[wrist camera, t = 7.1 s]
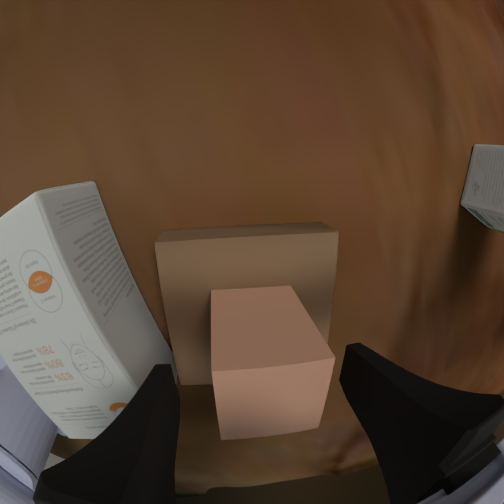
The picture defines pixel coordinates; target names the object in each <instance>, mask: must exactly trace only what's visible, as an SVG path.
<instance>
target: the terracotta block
mask: <svg viewBox="0 0 504 504" xmlns="http://www.w3.org/2000/svg"><path fill="white" fill-rule="evenodd" d="M334 362H335V356H334V355H333V353H332V352H331V350H330V348H329V347H328V345H327V343H326V342H325V340H324V339H323V337H322V335H321V334H320V332H319V330H318V329H317V327H316V326H315V324H314V322H313V321H312V319H311V317H310V316H309V314H308V313H307V311H306V309H305V308H304V306H303V305H302V303H301V301H300V300H299V298H298V297H297V295H296V293H295V292H294V290H293V289H292V287H291V285H289V286H275V287H259V288H241V289H223V290H211V371H212V379H213V387H214V395H215V402H216V409H217V416H218V423H219V429H220V436H221V440H232V439H245V438H256V437H265V436H273V435H280V434H286V433H293V432H298V431H304V430H309V429H314V428H318V427H319V423H320V420H321V416H322V412H323V408H324V404H325V401H326V397H327V392H328V388H329V384H330V380H331V375H332V371H333V366H334Z"/></svg>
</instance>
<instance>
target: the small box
mask: <svg viewBox="0 0 504 504" xmlns="http://www.w3.org/2000/svg"><path fill="white" fill-rule="evenodd" d="M0 355H1V356H2V358H3V359H4V361H5V362H6V364H7V365H8V367H9V368H10V370H11V371H12V373H13V374H14V375H15V377H16V378H17V379H18V381H19V382H20V383H21V385H22V386H23V387H24V389H25V390H26V391H27V392H28V394H29V395H30V396H31V397H32V399H33V400H34V401H35V402H36V403H37V405H38V406H39V407H40V408H41V409H42V410H43V411H44V412H45V414H46V415H47V416H48V417H49V418H50V419H51V420H52V421H53V422H54V423H55V424H56V425H57V426H58V427H59V429H60V430H61V431H62V432H63V433H64V434H66V435H67V436H68V437H69V438H71V439H95V438H96V437H97V436H98V435H99V434H101V433H102V432H103V431H104V430H105V429H106V428H107V427H108V426H109V425H110V424H111V423H112V422H113V421H114V420H115V418H116V417H117V416H118V415H119V414H120V413H121V411H122V410H123V409H124V408H125V407H126V405H127V404H128V403H129V402H130V400H131V399H132V398H133V396H134V395H135V393H136V392H137V391H138V389H139V388H140V387H141V385H142V384H143V382H144V381H145V379H146V378H147V376H148V375H149V373H150V371H151V370H152V368H153V367H154V366H155V364H171V367H172V371H173V375H174V379H175V383H176V382H177V373H178V372H177V368H176V364H175V359H174V355H173V353H172V351H171V349H170V347H169V346H168V344H167V342H166V341H165V339H164V337H163V335H162V333H161V331H160V330H159V328H158V326H157V324H156V322H155V320H154V318H153V316H152V315H151V313H150V311H149V309H148V307H147V305H146V303H145V301H144V299H143V297H142V295H141V293H140V291H139V289H138V286H137V284H136V282H135V280H134V278H133V276H132V274H131V271H130V269H129V267H128V265H127V262H126V260H125V258H124V255H123V253H122V251H121V249H120V246H119V244H118V241H117V239H116V237H115V234H114V232H113V229H112V227H111V224H110V222H109V219H108V216H107V214H106V211H105V208H104V206H103V203H102V200H101V197H100V194H99V191H98V188H97V185H96V184H95V183H94V181H89V182H83V183H77V184H71V185H65V186H58V187H53V188H48V189H44V190H40V191H37V192H35V193H33V194H32V195H30V196H29V197H28V198H26V199H25V200H23V201H22V202H21V203H19V204H18V205H16V206H15V207H14V208H12V209H11V210H10V211H8V212H7V213H6V214H4V215H3V216H2V217H0Z"/></svg>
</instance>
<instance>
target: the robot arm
mask: <svg viewBox="0 0 504 504" xmlns="http://www.w3.org/2000/svg"><path fill="white" fill-rule="evenodd" d="M0 370H1V371H0V504H176V497H175V477H174V469H175V456H176V447H177V438H178V430H179V421H180V398H179V394H178V391H177V387H176V383H175V379H174V375H173V371H172V367H171V364H155V366H154V367H153V368H152V370H151V371H150V373H149V375H148V376H147V378H146V379H145V381H144V382H143V384H142V385H141V387H140V388H139V389H138V391H137V392H136V393H135V395H134V396H133V398H132V399H131V400H130V402H129V403H128V404H127V405H126V407H125V408H124V409H123V410H122V411H121V413H120V414H119V415H118V416H117V417H116V418H115V420H114V421H113V422H112V423H111V424H110V425H109V426H108V427H107V428H106V429H105V430H104V431H103V432H102V433H101V434H99V435H98V436H97V437H96V438H95V439H94V440H93V441H91V442H90V443H89V444H88V445H86V446H85V447H84V448H82V449H81V450H79V451H78V452H76V453H75V454H73V455H72V456H70V457H69V458H67V459H65V460H64V461H62V462H60V463H58V464H56V465H54V466H52V467H50V468H48V469H46V470H44V467H45V464H46V462H47V459H48V456H49V453H50V451H51V448H52V445H53V443H54V440H55V438H56V435H57V433H59V434H61V435H63V436H66V434H64V433H63V432H62V431H61V430H60V429H59V427H58V426H57V425H56V424H55V423H54V422H53V421H52V420H51V419H50V418H49V417H48V416H47V415H46V414H45V412H44V411H43V410H42V409H41V408H40V407H39V406H38V405H37V403H36V402H35V401H34V400H33V399H32V397H31V396H30V395H29V394H28V392H27V391H26V390H25V389H24V387H23V386H22V385H21V383H20V382H19V381H18V379H17V378H16V377H15V375H14V374H13V373H12V371H11V370H10V368H9V367H8V365H7V364H6V362H5V361H4V359H3V358H2V356H1V355H0ZM339 381H340V383H341V386H342V389H343V391H344V394H345V396H346V398H347V400H348V402H349V404H350V406H351V407H352V409H353V411H354V413H355V414H356V416H357V418H358V420H359V421H360V423H361V425H362V427H363V428H364V430H365V432H366V434H367V435H368V437H369V439H370V441H371V444H372V446H373V449H374V451H375V454H376V456H377V459H378V462H379V464H380V467H381V470H382V473H383V476H384V480H385V483H386V486H387V490H388V495H389V499H390V503H391V504H502V503H503V502H504V438H503V439H502V440H501V441H500V442H499V443H498V444H497V445H495V444H494V441H495V440H496V437H495V436H494V434H493V433H494V432H495V430H496V429H497V428H498V426H499V425H500V424H501V422H502V421H503V420H504V399H503V398H502V397H501V396H500V395H495V394H479V393H472V392H466V391H461V390H457V389H453V388H449V387H446V386H442V385H439V384H436V383H434V382H431V381H429V380H426V379H424V378H421V377H419V376H417V375H415V374H413V373H411V372H409V371H407V370H405V369H403V368H401V367H400V366H398V365H396V364H394V363H393V362H391V361H389V360H388V359H386V358H384V357H383V356H381V355H379V354H378V353H376V352H374V351H373V350H371V349H369V348H368V347H366V346H364V345H363V344H361V343H354V344H349V345H346V350H345V355H344V360H343V365H342V369H341V374H340V378H339ZM43 470H44V471H43ZM39 475H40V476H39ZM38 478H39V479H38Z"/></svg>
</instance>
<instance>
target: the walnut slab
mask: <svg viewBox="0 0 504 504" xmlns="http://www.w3.org/2000/svg"><path fill="white" fill-rule="evenodd" d="M338 236H339V232H338V231H336V230H334V229H332V228H330V227H329V226H327V225H325V224H323V223H321V222H310V223H284V224H261V225H241V226H222V227H206V228H190V229H175V230H163V232H162V233H161V234H160V236H159V237H158V238H157V240H156V241H155V251H156V258H157V266H158V273H159V280H160V286H161V293H162V299H163V304H164V310H165V316H166V321H167V326H168V331H169V336H170V341H171V346H172V350H173V355H174V359H175V364H176V368H177V372H178V376H179V380H180V384H181V385H203V384H213V379H212V371H211V290H223V289H241V288H259V287H275V286H289V285H291V287H292V289H293V290H294V292H295V293H296V295H297V297H298V298H299V300H300V301H301V303H302V305H303V306H304V308H305V309H306V311H307V313H308V314H309V316H310V317H311V319H312V321H313V322H314V324H315V326H316V327H317V329H318V330H319V332H320V334H321V335H322V337H323V339H324V340H325V342H326V343H328V336H329V328H330V321H331V313H332V305H333V296H334V286H335V276H336V264H337V251H338Z"/></svg>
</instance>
